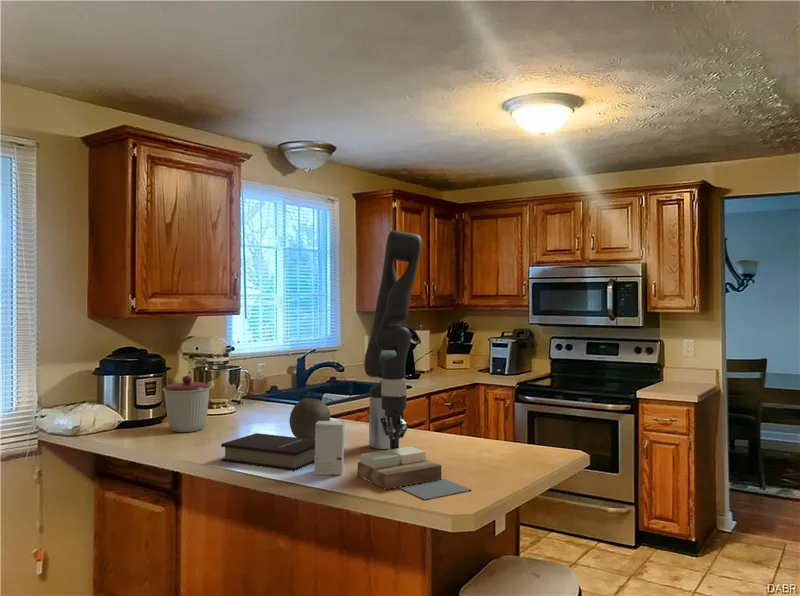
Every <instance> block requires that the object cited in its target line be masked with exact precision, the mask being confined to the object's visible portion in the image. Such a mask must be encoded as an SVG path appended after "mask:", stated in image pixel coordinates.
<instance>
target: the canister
mask: <svg viewBox="0 0 800 596" xmlns="http://www.w3.org/2000/svg"><path fill="white" fill-rule="evenodd" d="M181 379H182V382H177V383H176V382H175V383H170V384H168V385H166V386H165V387H163V388H162V391H163V392H164V393H163V394H164V401H165V409H166V417H167V423H168V427H169V429H170V430H171V431H172V432H175V433H193V432H196V431H201V430H203V429H204V428H205V427H206V422H207V418H208V409H209V399H210V390H211V389H212V385H209V384H208V383H206V382H199V381H192V380H193V378H192V377H191V376H190V375H185V376H183V377H182V378H181Z"/></svg>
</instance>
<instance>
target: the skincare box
mask: <svg viewBox="0 0 800 596" xmlns="http://www.w3.org/2000/svg"><path fill="white" fill-rule="evenodd" d="M344 448H345V421H340V420H339V421H337V420H335V421H334V420H330V421H318V422H317V423H316V429H315V460H314V463H313V466H314V467H313V473H314V476H341V475H343V472H344V453H345V449H344ZM332 474H333V475H332ZM334 474H335V475H334Z"/></svg>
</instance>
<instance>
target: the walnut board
mask: <svg viewBox="0 0 800 596" xmlns="http://www.w3.org/2000/svg"><path fill="white" fill-rule="evenodd" d="M358 476H360V477H362V478H365V479H367V480H369V481H371V482H373V483H375V484H377V485H379V486H381V487H383V488H385V489H389V488H394V487H399V488H400V486H406V485H410V486H411V485H412V484H415V485H416V484H418V483H423V482H426V483H427V482H428V481H431V482H432V481H434V480H436V481H437V480H440V479H441V480H442V465H441V464H439V463H437V462H434V461H431V460H428V459H426V460H425V461H419V462H413V463H407V464H400V463H399V465H395V466H389V467H383V468H377V469H374V468H372V467H369V466H367V465H365V464H362V463H361V461H358V462H357V477H358ZM360 477H359V478H360ZM362 478H361V479H362ZM365 479H364V480H365ZM367 480H366V481H367ZM369 481H368V482H369ZM371 482H370V483H371ZM373 483H372V484H373ZM375 484H374V485H375ZM377 485H376V486H377ZM379 486H378V487H379ZM381 487H380V488H381ZM383 488H382V489H383ZM385 489H384V490H385ZM394 489H395V488H394ZM389 490H390V489H389Z"/></svg>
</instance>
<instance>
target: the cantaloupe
mask: <svg viewBox="0 0 800 596" xmlns="http://www.w3.org/2000/svg"><path fill="white" fill-rule="evenodd" d="M318 421H331V412H330V409H329V407H328V405H327V404H326V403H325V402H323V401H322V400H320V399H319V398H312V397H310V398H309V397H308V398H303V399H300V400H299V401H298V402H297V403H295V405H294V407H292V410H291V412H290V414H289V427H290V430H291V433H292V435H293V436H294V437H297V438H306V439H315V429H316V423H317V422H318Z"/></svg>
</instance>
